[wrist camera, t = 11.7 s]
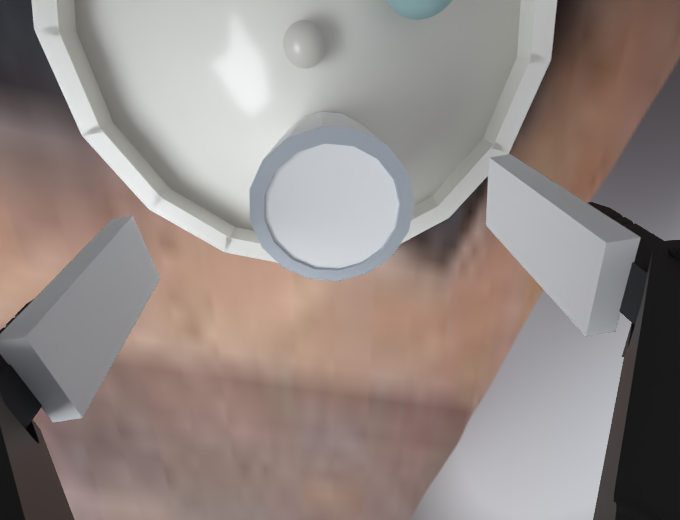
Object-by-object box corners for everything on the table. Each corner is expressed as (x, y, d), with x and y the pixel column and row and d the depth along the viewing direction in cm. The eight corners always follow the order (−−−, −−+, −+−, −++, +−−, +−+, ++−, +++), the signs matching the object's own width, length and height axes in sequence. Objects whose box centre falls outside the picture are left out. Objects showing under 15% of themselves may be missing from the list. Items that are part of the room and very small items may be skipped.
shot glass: (254, 106, 21) (230, 136, 15) (385, 91, 21) (414, 116, 15) (277, 226, 24) (264, 290, 18) (390, 213, 24) (415, 273, 18)
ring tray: (164, 269, 27) (151, 290, 24) (-52, -248, 15) (-112, -295, 13) (515, 215, 26) (533, 232, 24) (559, -363, 15) (601, -430, 13)
